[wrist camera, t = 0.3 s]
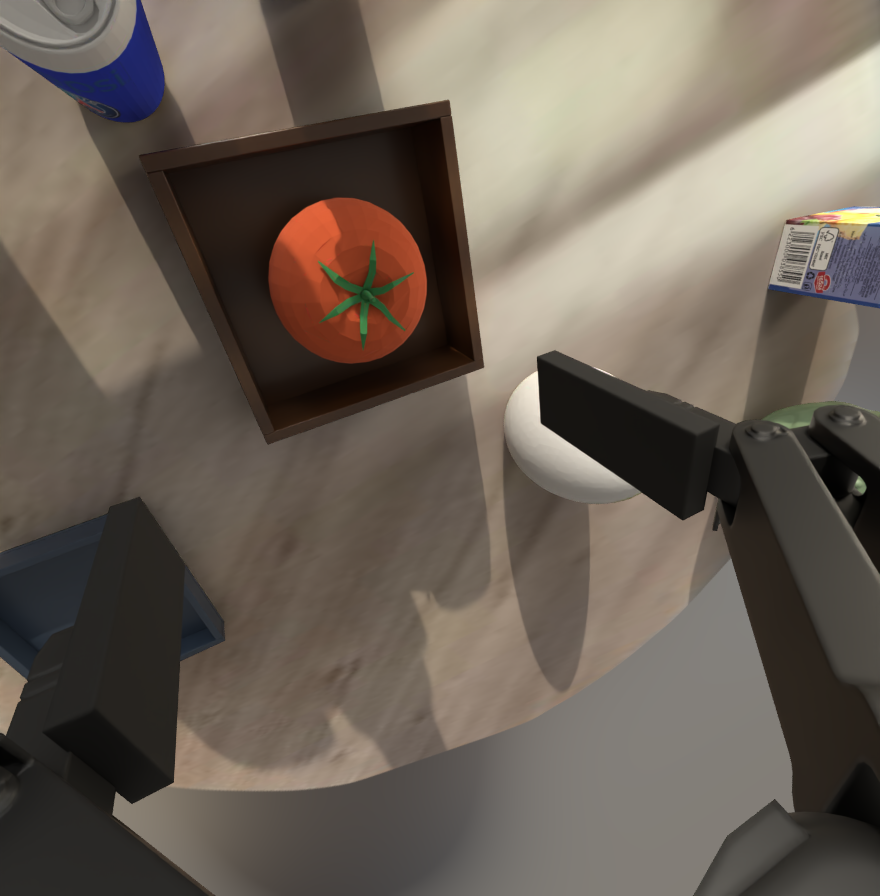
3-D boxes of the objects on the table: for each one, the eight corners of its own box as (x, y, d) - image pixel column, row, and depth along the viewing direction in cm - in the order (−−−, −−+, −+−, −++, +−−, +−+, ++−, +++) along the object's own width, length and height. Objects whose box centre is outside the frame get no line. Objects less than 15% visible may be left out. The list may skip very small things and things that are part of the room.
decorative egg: (533, 476, 53) (629, 559, 41) (464, 426, 46) (556, 509, 34) (603, 391, 52) (724, 451, 40) (543, 326, 45) (668, 375, 33)
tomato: (315, 160, 31) (354, 149, 23) (424, 263, 37) (485, 282, 29) (230, 289, 32) (240, 321, 24) (349, 367, 38) (388, 414, 30)
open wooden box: (148, 161, 28) (137, 155, 23) (416, 111, 32) (449, 99, 28) (260, 415, 37) (267, 444, 33) (455, 349, 42) (484, 367, 37)
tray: (-56, 572, 33) (-72, 596, 31) (142, 500, 36) (139, 518, 34) (72, 689, 41) (66, 713, 39) (224, 621, 45) (225, 641, 43)
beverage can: (25, 47, 24) (-158, -101, 12) (97, -23, 24) (-13, -244, 12) (122, 145, 27) (55, 106, 15) (186, 83, 27) (171, -7, 15)
